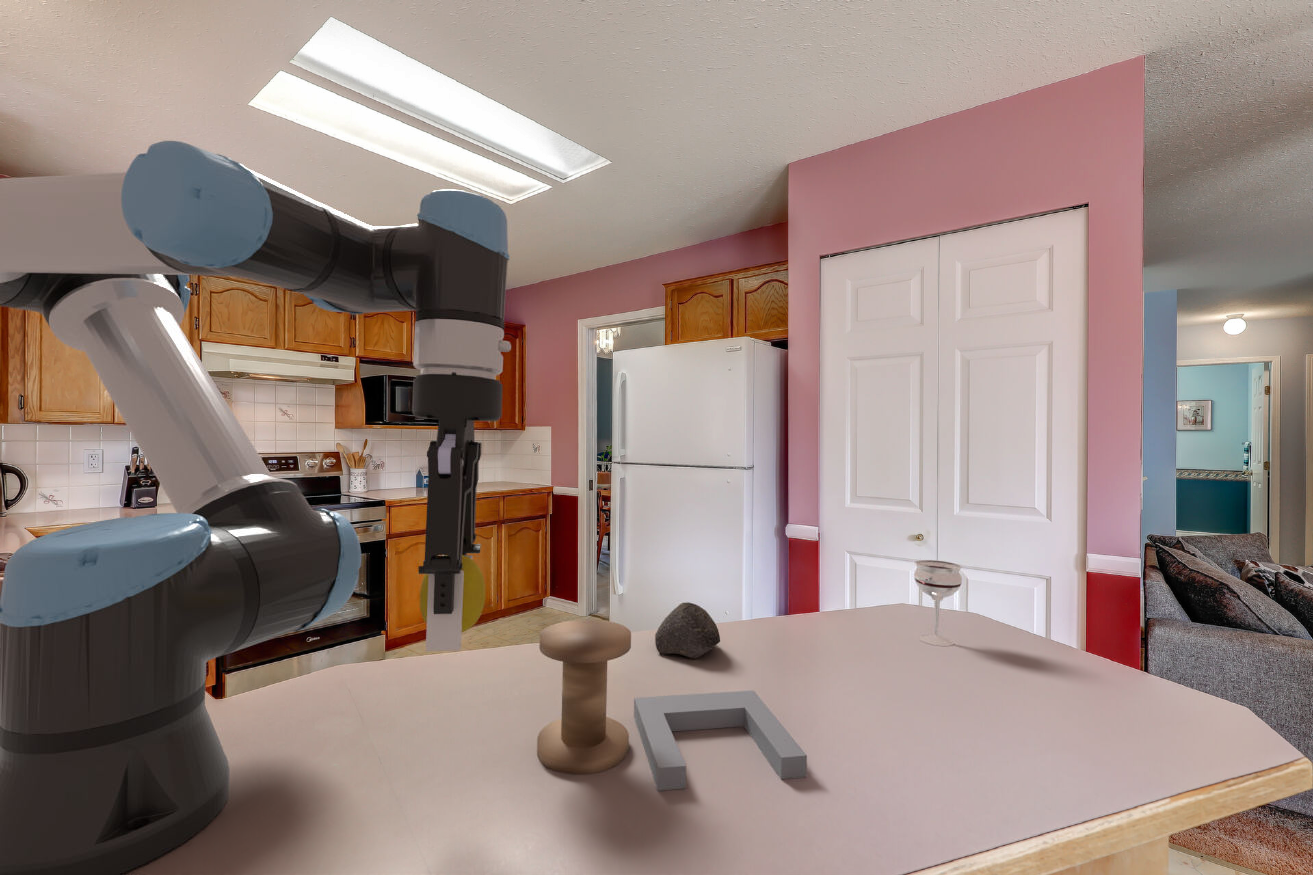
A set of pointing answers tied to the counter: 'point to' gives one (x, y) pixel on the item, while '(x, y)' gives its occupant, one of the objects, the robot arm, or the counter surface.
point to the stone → (687, 632)
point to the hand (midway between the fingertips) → (449, 635)
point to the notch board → (707, 713)
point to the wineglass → (937, 589)
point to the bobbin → (584, 697)
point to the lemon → (471, 594)
